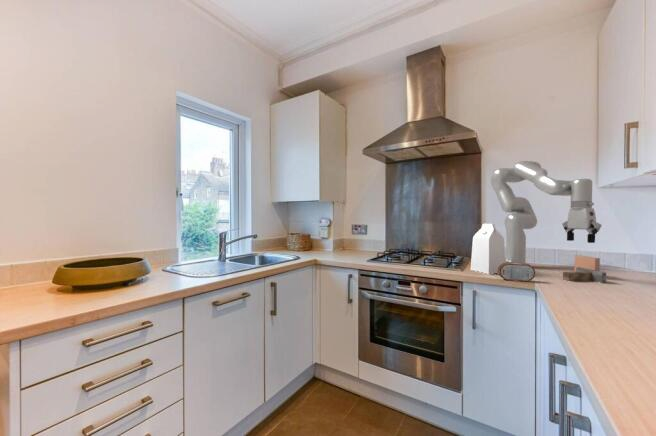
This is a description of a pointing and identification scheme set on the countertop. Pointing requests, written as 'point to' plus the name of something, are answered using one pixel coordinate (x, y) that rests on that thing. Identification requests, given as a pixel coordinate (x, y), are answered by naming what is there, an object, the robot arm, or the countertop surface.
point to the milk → (487, 250)
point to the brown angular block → (585, 275)
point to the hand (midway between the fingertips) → (580, 241)
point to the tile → (587, 262)
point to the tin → (516, 271)
